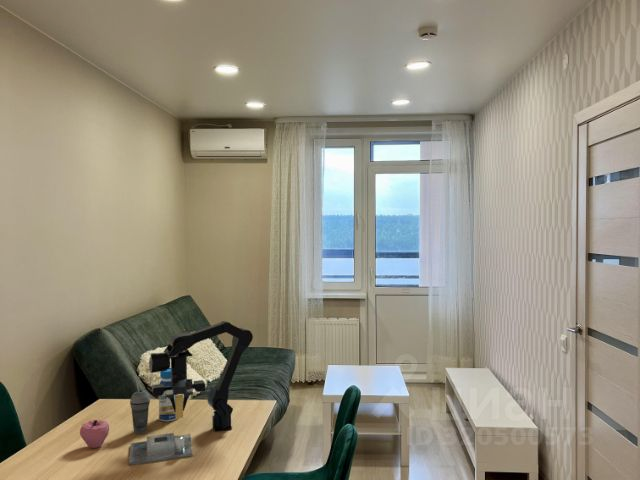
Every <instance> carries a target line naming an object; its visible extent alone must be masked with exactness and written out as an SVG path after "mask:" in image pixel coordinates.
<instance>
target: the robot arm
mask: <svg viewBox="0 0 640 480" xmlns="http://www.w3.org/2000/svg"><path fill="white" fill-rule="evenodd" d="M224 333H227V334H228V335H231V336H232V340H231V350H230V353H229V355H228V358H227V360H226V362H225V365H224V367H223V369H222V373H221V374H220V376H219V380H218V382H217V384H216V385H214V386H210V388H209V392H208V394H207V395H206V397H207V403H208V405H209V407H211V408H212V410H213V415H212V416H211V417H212V419H211V422H212V424H211V425H212V428H213V430H214V432H222V431H228V430H233V426H232V413H233V411H234V408H233V407H232V406H231V405H230V404H229V403H228V401H229V397H230V395H229V392H230V386H231V384H232V381H233V378H234V376H235V374H236V371H237V368H238V366H239V363H240V361H241V359H242V356H243V354H244V353H245V351H246V350H247V349H248V348H249V346H250V345H251V344H252V342H253V338H254V336H253V335H254V334H253V333H252V332H251V330H249V329H247V328H245V327H238V326H235V325H234V324H232V323H231V322H229V321H227V320H223V321H220V322H218V323H215V324H212V325H209V326H206V327H204V328H200V329H198V330H195V331H190V332H182V333H181V332H180V333H175V334H173V335H172V336H171V337H170V339H169V343H168V344H167V346H166V347H165V349H164V350H163V352H157V353H156V352H152V353H150V354H149V355H150V357H149V361H148V368H149V372H150V374H153V373H158V372H159V373H160V372H161V371H167V369H169V368H171V386H165V387H164V384H160V383H157V384H156V383H155V384H153V385H152V387H151V389H152V397H159V396H162V395H163V394H164V392H165V397H169V399H170V401H171V403H172V406H173V409H174V412H176V407H175V400H174V395H178V394H183V412H184V411H185V408H186V406H187V403H188V400H189V398H190V397H191V396H192V395H193V394H194V391H195V392H196V393H199V392H206V383H205V381H204V380H203V379H199V380H194V381H193V378H188V357H193V353H191V351H189V349H190V348H192V347H194V345H196V344H198V343H200V342H203V341H205V340H208V339H211V338H215V337H216V336H220V335H222V334H224Z"/></svg>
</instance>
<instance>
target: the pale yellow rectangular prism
mask: <svg viewBox="0 0 640 480" xmlns="http://www.w3.org/2000/svg"><path fill="white" fill-rule="evenodd" d="M183 397H184V394H178V395H175V407H176V412H175V417H176V418H178V419H182V418H184V411H183Z"/></svg>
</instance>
